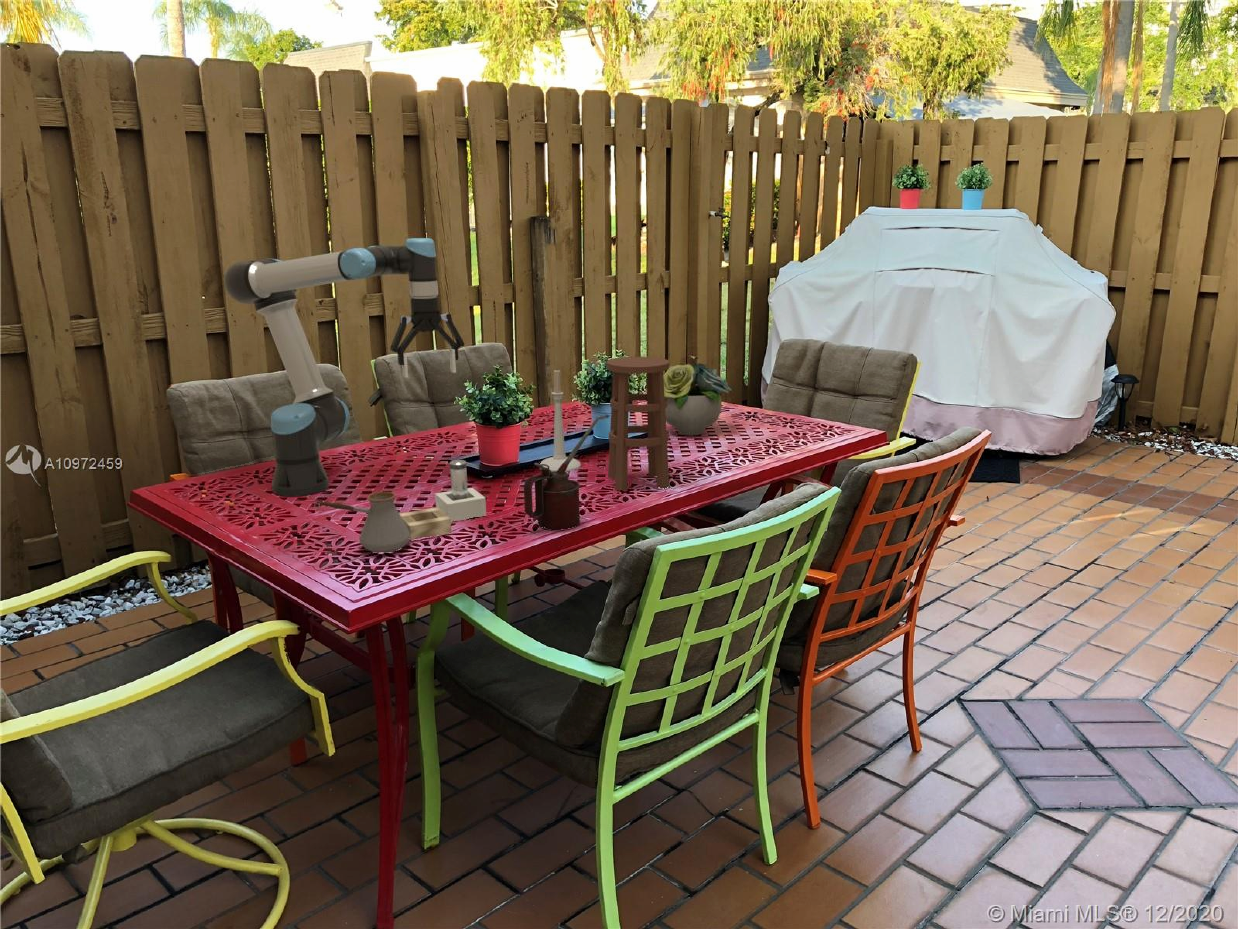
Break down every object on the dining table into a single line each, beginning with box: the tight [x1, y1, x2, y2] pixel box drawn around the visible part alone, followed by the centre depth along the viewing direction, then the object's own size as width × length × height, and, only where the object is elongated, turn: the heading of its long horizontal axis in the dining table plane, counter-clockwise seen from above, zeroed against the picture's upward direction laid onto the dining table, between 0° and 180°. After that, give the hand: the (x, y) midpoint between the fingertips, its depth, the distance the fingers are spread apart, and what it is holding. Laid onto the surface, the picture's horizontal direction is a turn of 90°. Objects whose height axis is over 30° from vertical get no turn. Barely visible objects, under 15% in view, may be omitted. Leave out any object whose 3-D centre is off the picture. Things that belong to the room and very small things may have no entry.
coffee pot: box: [313, 491, 410, 552], centre depth 200 cm, size 21×12×15 cm, turn 131°
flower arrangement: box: [663, 362, 733, 436], centre depth 304 cm, size 25×25×24 cm
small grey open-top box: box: [434, 487, 487, 522], centre depth 227 cm, size 10×10×5 cm
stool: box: [605, 356, 670, 491], centre depth 247 cm, size 20×35×20 cm
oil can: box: [523, 414, 611, 531], centre depth 220 cm, size 28×11×25 cm, turn 136°
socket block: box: [399, 506, 452, 541], centre depth 215 cm, size 10×10×4 cm
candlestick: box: [539, 369, 582, 473], centre depth 265 cm, size 13×13×30 cm
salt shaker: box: [449, 459, 468, 501], centre depth 226 cm, size 4×4×14 cm
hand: (429, 374), depth 245 cm, fingers open, 13 cm apart
